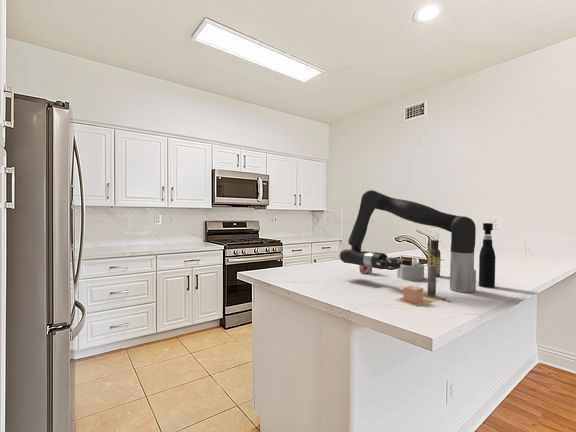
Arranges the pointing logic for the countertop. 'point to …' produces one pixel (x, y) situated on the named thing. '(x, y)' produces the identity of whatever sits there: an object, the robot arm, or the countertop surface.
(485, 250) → the wine bottle
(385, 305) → the countertop surface
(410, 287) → the terracotta block
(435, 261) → the sauce bottle
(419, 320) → the countertop surface
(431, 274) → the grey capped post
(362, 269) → the soda can
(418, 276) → the lumpy-topped squat cylinder
